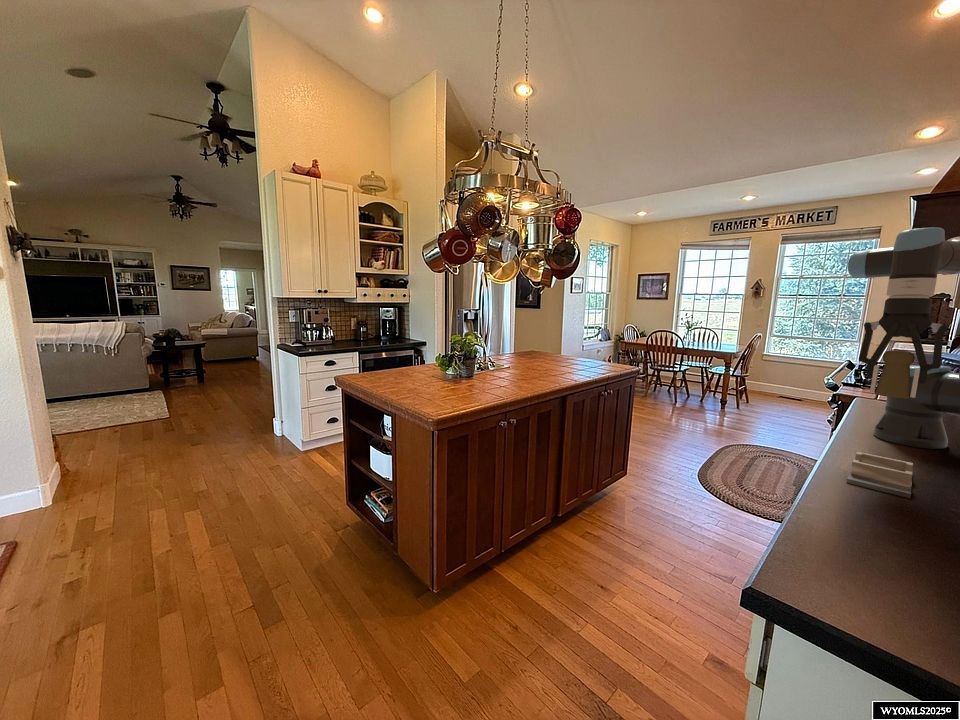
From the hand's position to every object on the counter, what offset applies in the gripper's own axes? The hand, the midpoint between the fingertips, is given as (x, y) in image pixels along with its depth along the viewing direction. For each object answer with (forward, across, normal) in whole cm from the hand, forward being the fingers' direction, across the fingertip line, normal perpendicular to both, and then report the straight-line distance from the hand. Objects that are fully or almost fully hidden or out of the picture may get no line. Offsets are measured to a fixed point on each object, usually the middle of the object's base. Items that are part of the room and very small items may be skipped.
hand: (892, 393), depth 94 cm
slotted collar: (+20, +1, -5) cm, 21 cm away
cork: (+1, 0, 0) cm, 1 cm away
